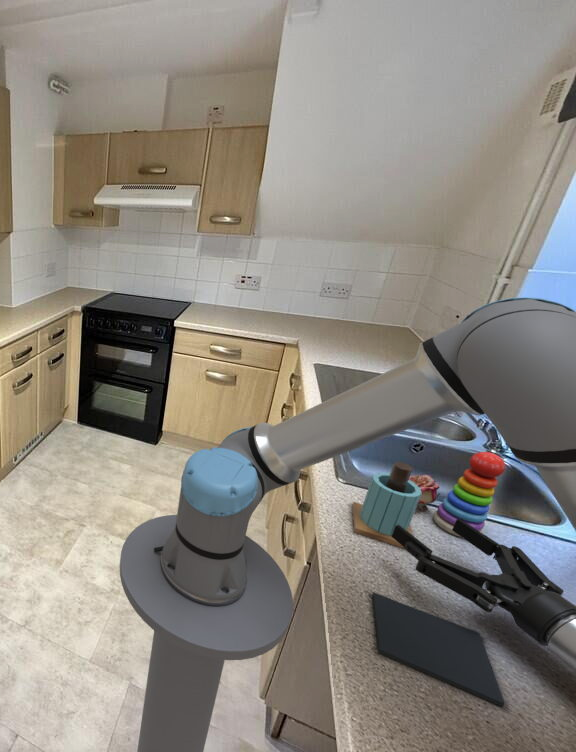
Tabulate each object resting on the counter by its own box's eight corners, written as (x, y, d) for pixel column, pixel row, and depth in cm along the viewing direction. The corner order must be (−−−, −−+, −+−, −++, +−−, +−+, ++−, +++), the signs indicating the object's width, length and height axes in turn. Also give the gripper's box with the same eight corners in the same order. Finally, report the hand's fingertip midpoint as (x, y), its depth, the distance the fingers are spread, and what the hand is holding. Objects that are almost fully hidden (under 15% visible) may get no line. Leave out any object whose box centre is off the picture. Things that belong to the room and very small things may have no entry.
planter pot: (361, 526, 87) (374, 487, 84) (359, 505, 94) (371, 468, 90) (408, 542, 83) (424, 501, 80) (402, 518, 90) (417, 480, 86)
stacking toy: (443, 535, 87) (476, 460, 80) (424, 511, 94) (454, 440, 87) (489, 544, 85) (527, 467, 78) (466, 519, 92) (500, 446, 85)
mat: (378, 652, 63) (379, 649, 63) (372, 595, 73) (373, 592, 73) (502, 707, 56) (505, 703, 56) (477, 636, 66) (479, 632, 66)
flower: (444, 499, 96) (428, 466, 97) (454, 514, 88) (436, 478, 89) (395, 507, 101) (380, 476, 102) (400, 522, 93) (384, 488, 94)
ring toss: (354, 532, 87) (375, 470, 82) (352, 505, 95) (371, 447, 90) (413, 551, 83) (440, 487, 77) (406, 522, 91) (430, 461, 85)
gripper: (484, 660, 59) (363, 548, 79) (621, 638, 63) (473, 536, 83) (504, 623, 57) (374, 517, 76) (646, 602, 60) (487, 506, 80)
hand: (425, 527), depth 79 cm, fingers open, 13 cm apart
